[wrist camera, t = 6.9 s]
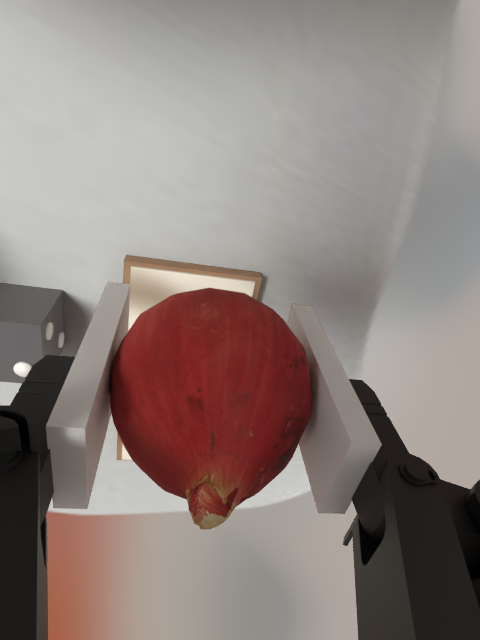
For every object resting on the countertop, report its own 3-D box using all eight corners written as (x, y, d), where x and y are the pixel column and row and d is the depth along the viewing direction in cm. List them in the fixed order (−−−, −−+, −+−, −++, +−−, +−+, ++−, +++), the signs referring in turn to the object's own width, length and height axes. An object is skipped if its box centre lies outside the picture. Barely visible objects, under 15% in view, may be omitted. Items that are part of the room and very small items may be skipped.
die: (-10, 281, 28) (-48, 317, 24) (65, 290, 29) (42, 327, 25) (-2, 337, 31) (-34, 380, 26) (67, 344, 32) (47, 386, 27)
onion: (305, 266, 14) (408, 444, 7) (261, 387, 17) (306, 596, 10) (140, 233, 13) (77, 408, 6) (122, 369, 16) (66, 593, 9)
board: (126, 255, 28) (123, 261, 27) (260, 272, 30) (262, 279, 29) (118, 451, 39) (116, 461, 38) (217, 455, 40) (218, 465, 39)
